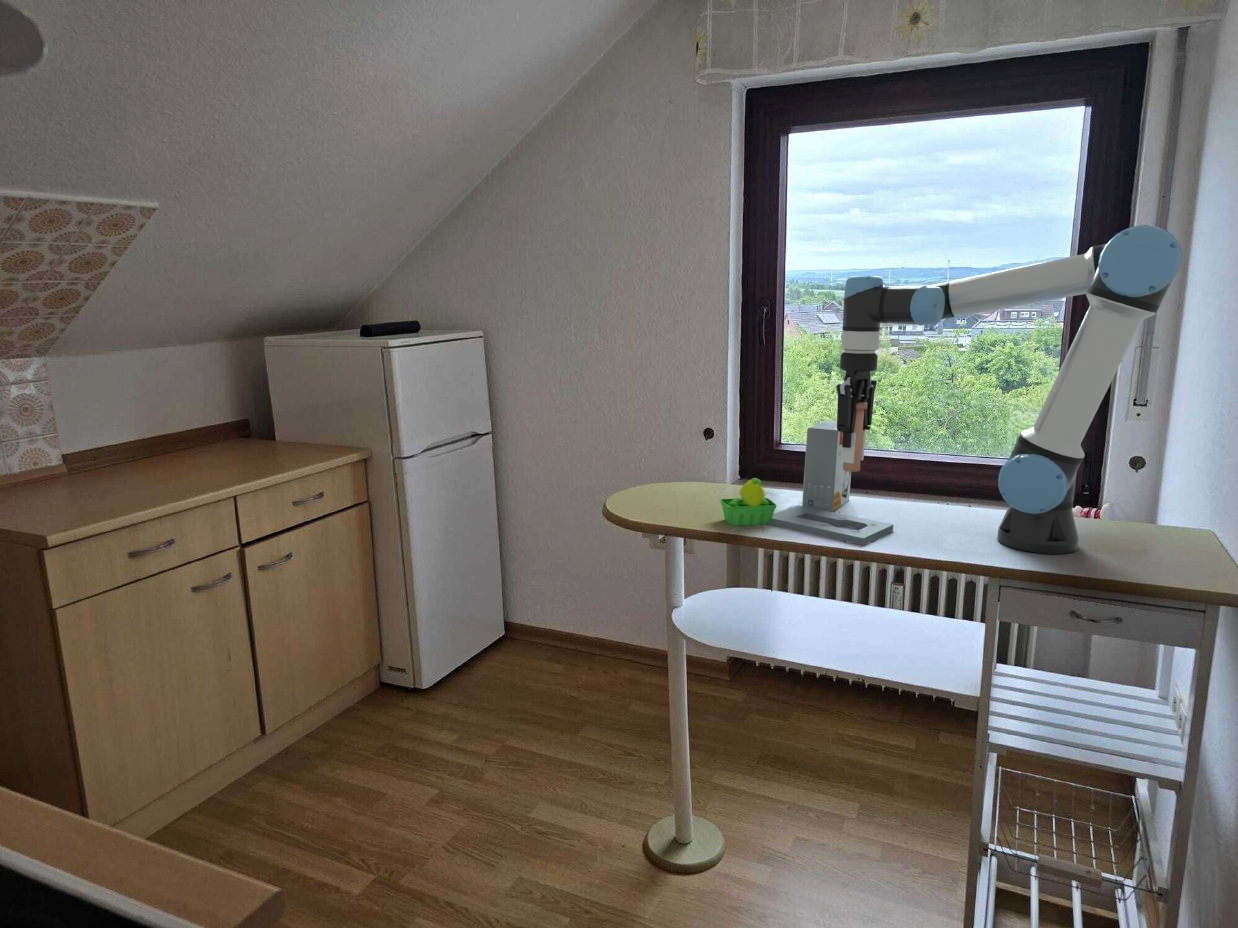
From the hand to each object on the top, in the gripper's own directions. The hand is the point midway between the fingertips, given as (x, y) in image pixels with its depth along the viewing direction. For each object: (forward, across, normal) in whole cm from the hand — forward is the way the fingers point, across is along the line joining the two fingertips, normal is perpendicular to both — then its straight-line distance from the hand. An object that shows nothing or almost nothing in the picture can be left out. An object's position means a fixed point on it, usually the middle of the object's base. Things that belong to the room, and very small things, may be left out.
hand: (852, 460), depth 181 cm
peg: (+2, 0, 0) cm, 2 cm away
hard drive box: (+16, -18, -15) cm, 28 cm away
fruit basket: (+17, +9, -20) cm, 27 cm away
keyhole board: (+16, 0, -5) cm, 17 cm away
